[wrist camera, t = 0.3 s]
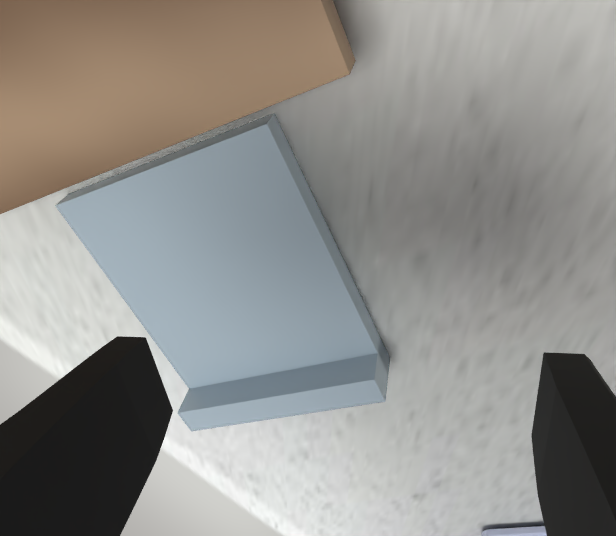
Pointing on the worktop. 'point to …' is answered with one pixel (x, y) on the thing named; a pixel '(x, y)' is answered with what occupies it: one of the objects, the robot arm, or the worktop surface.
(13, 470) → the robot arm
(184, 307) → the light blue lipped plate
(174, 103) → the bench
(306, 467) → the worktop surface
